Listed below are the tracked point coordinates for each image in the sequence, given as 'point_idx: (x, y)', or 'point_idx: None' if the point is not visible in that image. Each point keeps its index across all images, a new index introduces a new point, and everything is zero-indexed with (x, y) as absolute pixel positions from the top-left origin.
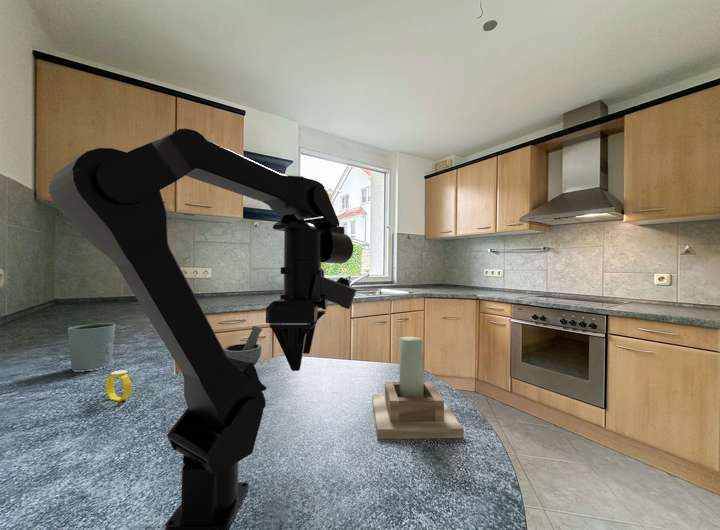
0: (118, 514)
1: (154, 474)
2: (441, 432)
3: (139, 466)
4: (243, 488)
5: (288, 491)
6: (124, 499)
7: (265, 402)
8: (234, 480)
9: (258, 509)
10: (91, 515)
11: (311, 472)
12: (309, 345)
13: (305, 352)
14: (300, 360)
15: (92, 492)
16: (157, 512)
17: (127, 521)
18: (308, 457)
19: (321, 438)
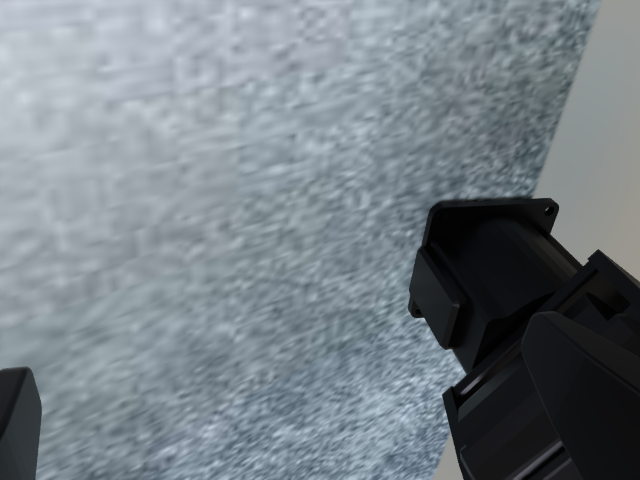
0: (448, 387)
1: (341, 407)
2: None
3: (308, 446)
4: (454, 214)
5: (469, 93)
6: (411, 403)
7: (636, 326)
8: (537, 245)
9: (510, 154)
10: (440, 418)
11: (397, 31)
12: (9, 436)
13: (38, 400)
14: (627, 355)
15: (380, 455)
16: None
17: None
18: (308, 55)
19: (161, 11)
